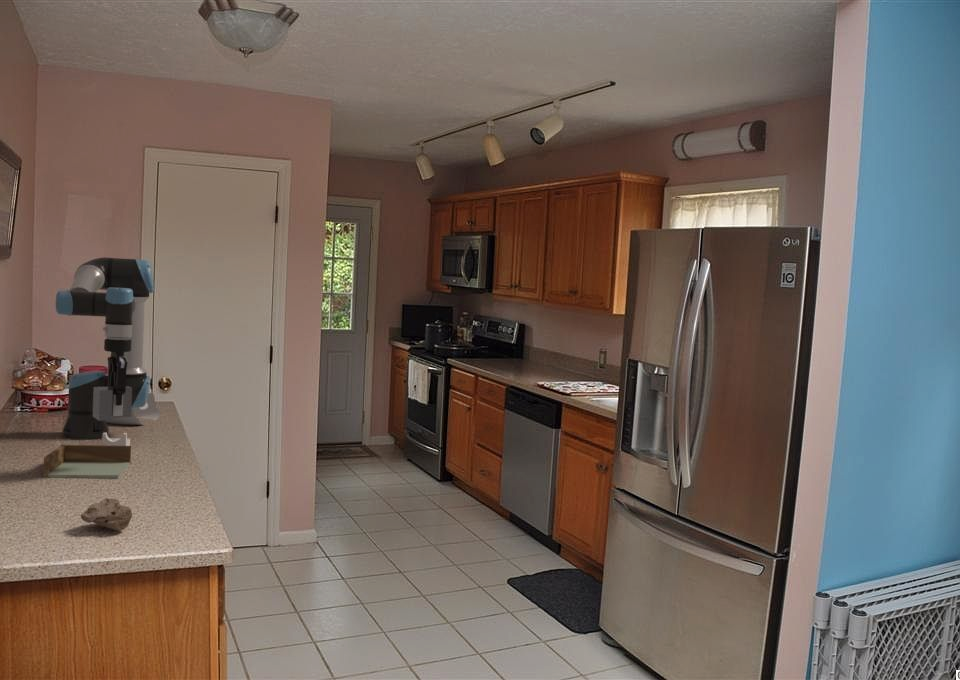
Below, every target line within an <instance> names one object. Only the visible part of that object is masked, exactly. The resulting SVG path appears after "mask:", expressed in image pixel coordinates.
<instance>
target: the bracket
mask: <svg viewBox="0 0 960 680" xmlns="http://www.w3.org/2000/svg"><path fill="white" fill-rule="evenodd" d="M101 442H102V443H101V445H109V446H131V438H128V433H127V432H123V433H122V437H121V438H118V437H117V438H110V437H109V436H107V433H103V434H102V438H101Z"/></svg>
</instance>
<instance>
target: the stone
mask: <svg viewBox="0 0 960 680" xmlns="http://www.w3.org/2000/svg"><path fill="white" fill-rule="evenodd" d="M132 516H133V513H132V509H131V508H130V507H129V506H126V505H121V503H120V500H119V499H117V498H107V497H106V498H104V499H102V500H101V501H100V502H95V503H92V504H90V505H89V506H88V507H87V510H86V511H84V512H82V513H81V514H80V519H81V520H82V521H83V522H86V523H89V524H91V523H93V524H97V525H99V526H102V527H104V528H108V529H111V530H112V529H113V530H116V531H119V532H121V531H124V530H125V529H126V528H128V526H129V523H130V521H131V519H132V518H133V517H132Z"/></svg>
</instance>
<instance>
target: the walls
mask: <svg viewBox="0 0 960 680" xmlns="http://www.w3.org/2000/svg"><path fill="white" fill-rule="evenodd" d="M131 461H132V445H130V446H109V445H102V444H101V445H100V444H99V445H96V444H91V445H90V444H89V445H87V444H61V445H59V446H58V447H56V448H55V449H54V450H52V451H51V452H50V453H48V454H47V455H46V456H44V457H43V476H44V475H45V476H46V475H47V476H46V477H45V478H49V477H48V474H50V473H51V472H52V471H53V470H55V469H56V468H57V467H58V466H60V465H61V464H62V463H63V462H130V463H131Z"/></svg>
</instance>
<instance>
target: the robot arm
mask: <svg viewBox="0 0 960 680" xmlns="http://www.w3.org/2000/svg"><path fill="white" fill-rule="evenodd" d="M153 275H154V274H153V270H152V264H151V262H150V261H149V260H143V259H138V258H136V259H135V258H121V257H119V258H118V257H117V258H116V257H106V256H105V257H98V258H93V259H90V260H88V261H86V262H84V263H82V264H80V265H79V266H78V267H77V268H76V270H75V272H74V275H73V282H72V284H71V286H70V287H69V290H68V289H66V290H58V291H57V292H56V296H55V311H56V313H57V314H58V315H65V316H69V317H71V316H82V317H103V318H104V317H105V318H104V319H105V321H104V326H103V328H102V330H103V331H104V337H106V338H105V339H104V341H103V350H104V351H105V352H108V353H109V352H110V356H108V357H107V374H106V371H103V370H92V371H83V372H77V373H74V374H72V375H71V376H70V377H69V381H68V386H67V388H68V405H67V406H68V408H67V417H66V420H65V422H64V425H63V428H62V429H61V437H62V436H63V437H62V438H64V437H65V439H68V438H70V439H69V440H78V441H79V440H81V441H82V440H83V441H84V440H85V441H86V440H98V439H99V440H100V439H102V434H103V433H107V436H108V437H109V435H110V434H109V433H110V432H109V431H110V428H109V426H108V423H106V420H104V421H99V420H97V419H96V418H94V417H93V391H94V387H114V393H113V413H112V416H123V394H124V393H125V392H126V386H129V387H131V388H132V405H131V408H137V407H143V406H145V404H146V401H147V396H148V393H149V392H150V391H149V389H150V384H151V378H152V377H151V376H149V375H148V374H147V372H148V371H147V370H146V369H145V368H144V367H143V361H144V360H143V359H144V358H143V356H144V328H145V327H144V326H145V302H146V301H147V300H148V299H150V294H152V293H154V292H155V289H154V279H153V278H154V277H153ZM98 290H101V291H103V290H104V291H106V292H99V291H98Z"/></svg>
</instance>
